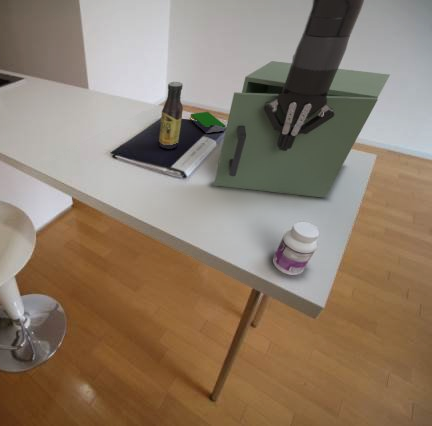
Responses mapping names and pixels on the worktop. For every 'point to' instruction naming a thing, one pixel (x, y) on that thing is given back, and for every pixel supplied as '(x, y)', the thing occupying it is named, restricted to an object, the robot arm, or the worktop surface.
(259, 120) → the cupboard door
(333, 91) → the cupboard
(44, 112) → the worktop surface
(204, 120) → the dish sponge
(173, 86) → the sauce bottle
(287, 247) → the pill bottle
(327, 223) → the worktop surface
